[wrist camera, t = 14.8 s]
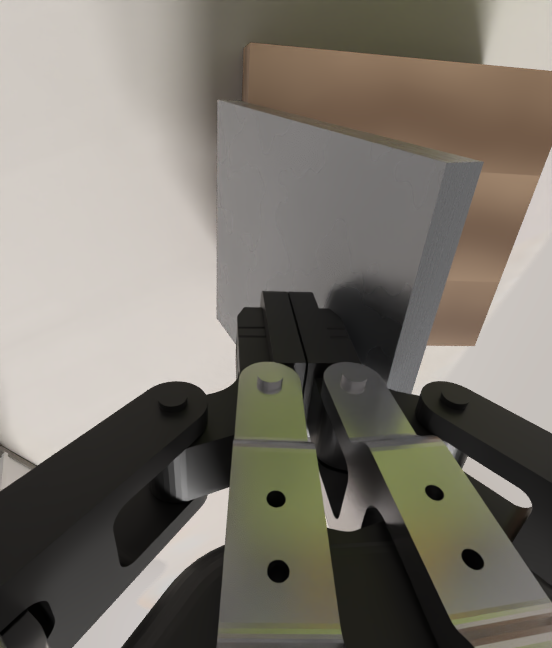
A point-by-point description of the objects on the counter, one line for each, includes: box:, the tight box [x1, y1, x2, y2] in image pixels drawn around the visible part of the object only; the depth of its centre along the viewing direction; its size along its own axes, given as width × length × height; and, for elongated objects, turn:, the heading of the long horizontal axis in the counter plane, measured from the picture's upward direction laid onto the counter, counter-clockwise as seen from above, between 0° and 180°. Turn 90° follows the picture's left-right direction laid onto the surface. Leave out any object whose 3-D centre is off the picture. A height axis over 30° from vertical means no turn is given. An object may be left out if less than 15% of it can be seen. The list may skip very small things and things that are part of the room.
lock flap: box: [217, 100, 484, 442], centre depth 15 cm, size 12×10×1 cm
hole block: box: [242, 42, 552, 346], centre depth 24 cm, size 14×14×8 cm
